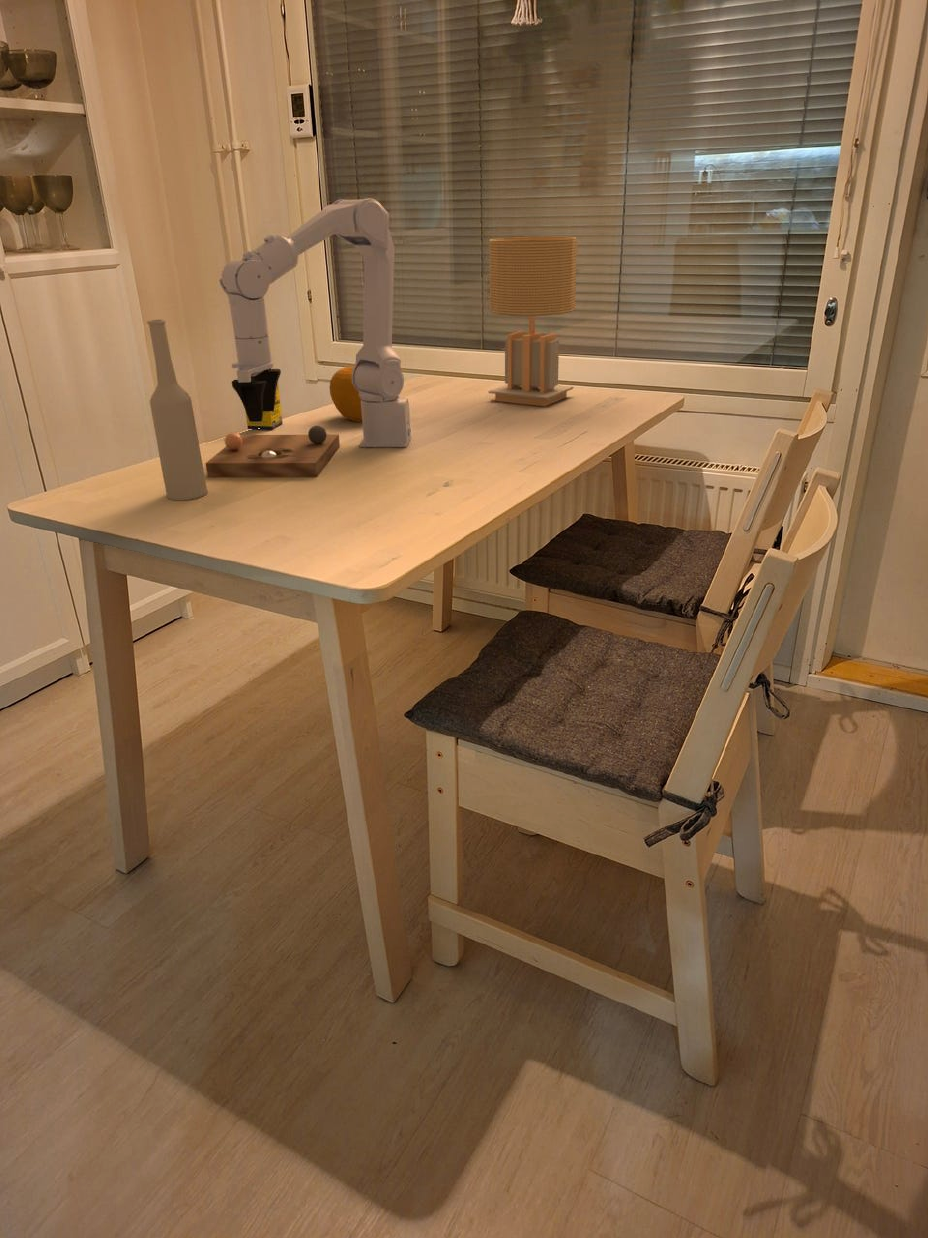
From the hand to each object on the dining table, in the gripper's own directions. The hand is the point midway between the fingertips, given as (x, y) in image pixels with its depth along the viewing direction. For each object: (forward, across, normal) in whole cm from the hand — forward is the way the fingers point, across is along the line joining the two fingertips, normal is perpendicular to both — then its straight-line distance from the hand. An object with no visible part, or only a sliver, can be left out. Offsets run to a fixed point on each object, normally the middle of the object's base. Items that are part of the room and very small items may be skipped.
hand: (262, 416), depth 150 cm
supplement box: (+10, -32, -10) cm, 35 cm away
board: (+10, -6, 0) cm, 11 cm away
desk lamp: (+10, -58, +48) cm, 76 cm away
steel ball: (+8, -1, 0) cm, 8 cm away
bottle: (+10, +14, -10) cm, 20 cm away
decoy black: (+6, -8, +8) cm, 13 cm away
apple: (+10, -40, +10) cm, 42 cm away
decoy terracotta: (+6, -4, -8) cm, 10 cm away
